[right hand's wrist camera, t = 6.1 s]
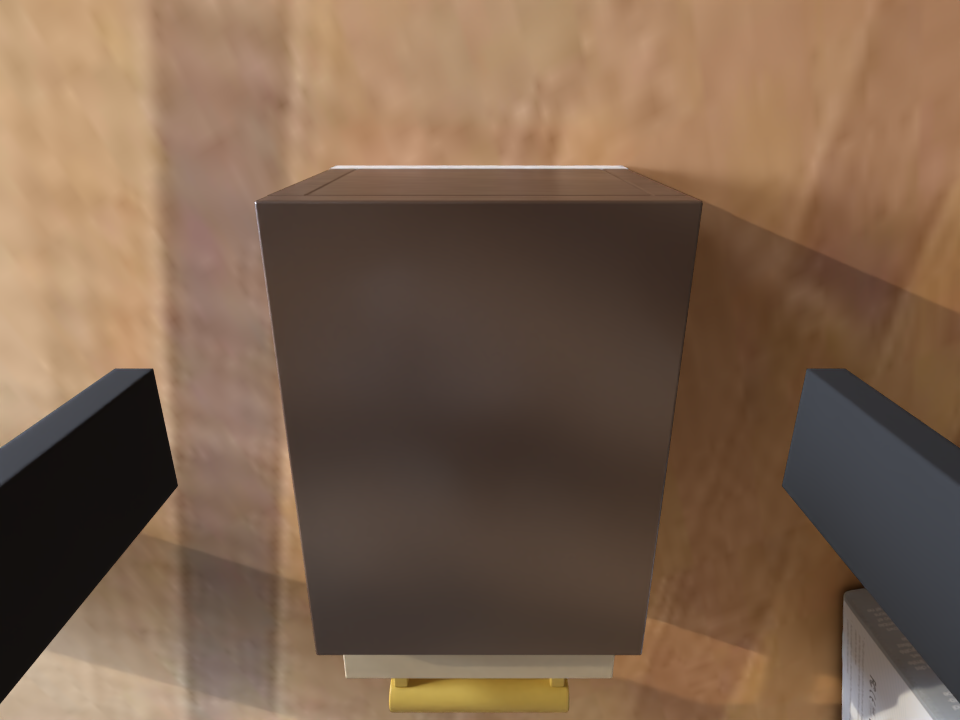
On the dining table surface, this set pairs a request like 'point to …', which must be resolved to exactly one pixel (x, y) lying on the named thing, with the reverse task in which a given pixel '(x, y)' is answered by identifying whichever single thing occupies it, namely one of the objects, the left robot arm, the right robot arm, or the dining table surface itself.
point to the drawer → (479, 680)
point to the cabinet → (478, 400)
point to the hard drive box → (886, 669)
